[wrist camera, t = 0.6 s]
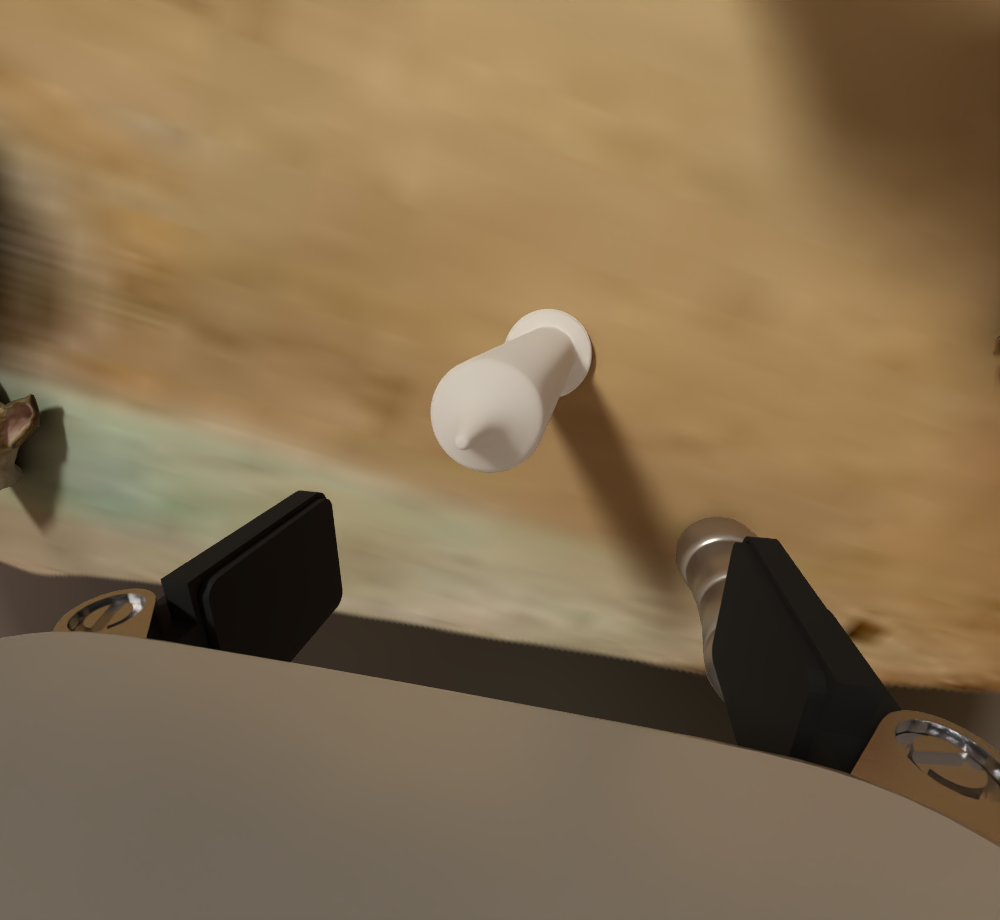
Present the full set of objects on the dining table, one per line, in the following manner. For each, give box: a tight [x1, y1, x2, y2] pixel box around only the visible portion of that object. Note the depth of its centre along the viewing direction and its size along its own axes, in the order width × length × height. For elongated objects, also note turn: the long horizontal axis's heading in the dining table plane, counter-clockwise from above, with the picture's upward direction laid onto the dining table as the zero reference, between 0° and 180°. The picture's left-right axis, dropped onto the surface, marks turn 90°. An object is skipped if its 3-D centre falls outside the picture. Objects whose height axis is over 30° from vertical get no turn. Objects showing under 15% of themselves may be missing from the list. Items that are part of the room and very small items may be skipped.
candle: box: [431, 309, 592, 473], centre depth 26 cm, size 7×7×25 cm
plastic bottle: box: [676, 517, 757, 702], centre depth 31 cm, size 6×7×20 cm
